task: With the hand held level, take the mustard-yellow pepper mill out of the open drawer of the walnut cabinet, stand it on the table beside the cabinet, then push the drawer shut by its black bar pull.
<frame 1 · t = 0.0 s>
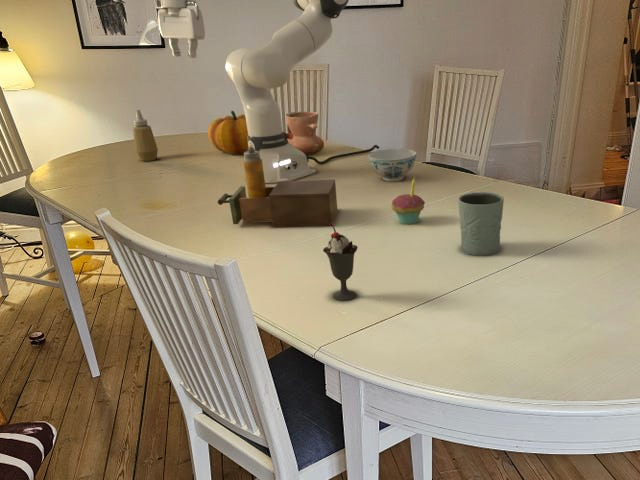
hand: (184, 57, 183), 39 cm above the table, tool pointing down, fingers open, 8 cm apart
squeeze bottle: (149, 160, 248), on the table
cupcake: (408, 222, 170), on the table
ceramic jug: (304, 153, 246), on the table
drawer: (255, 204, 175), point 4 cm above the table, slide at 9.5 cm, touching pepper mill
pepper mill: (260, 212, 176), point 2 cm above the table, touching drawer
cabinet: (306, 218, 176), on the table
chinaware: (393, 179, 208), on the table
decorative pumpkin: (240, 151, 254), on the table
sundae: (344, 296, 131), on the table
green embossed cup: (479, 249, 151), on the table
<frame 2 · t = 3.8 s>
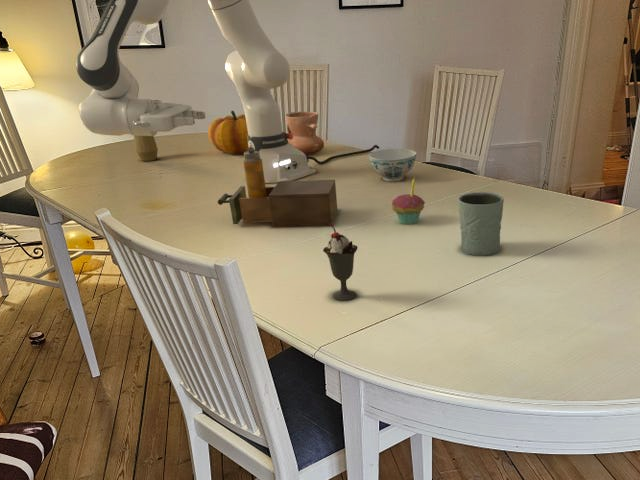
hand: (199, 118, 165), 27 cm above the table, tool horizontal, fingers open, 8 cm apart
nothing on the table moved.
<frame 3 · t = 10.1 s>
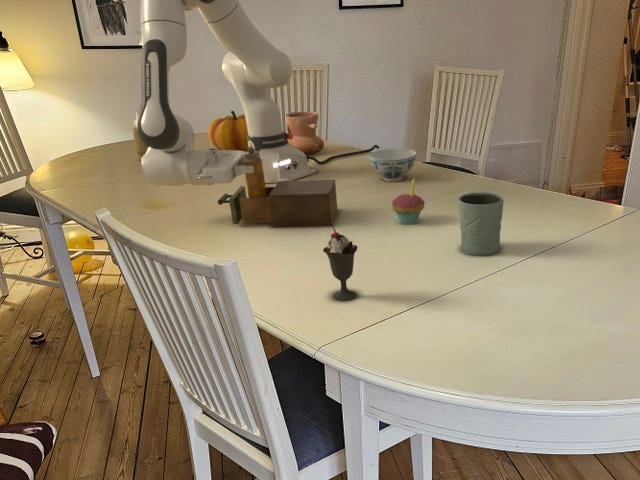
hand: (256, 165, 170), 15 cm above the table, tool horizontal, fingers closed on pepper mill, 5 cm apart
pepper mill: (260, 212, 176), point 2 cm above the table, touching drawer, gripper
everything else where it was.
when the fingers open (12 cm above the table, at t = 19.2 s): pepper mill stays where it is, on the table.
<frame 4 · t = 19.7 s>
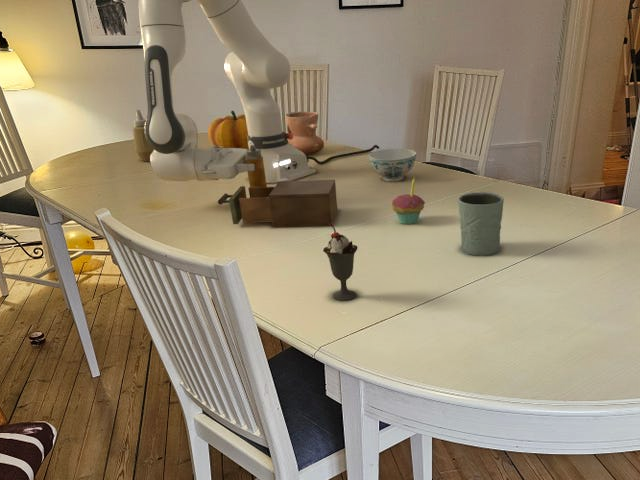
hand: (258, 162, 181), 13 cm above the table, tool horizontal, fingers open, 8 cm apart
drawer: (255, 204, 175), point 4 cm above the table, slide at 9.5 cm
pepper mill: (261, 207, 187), on the table
everything else where it was.
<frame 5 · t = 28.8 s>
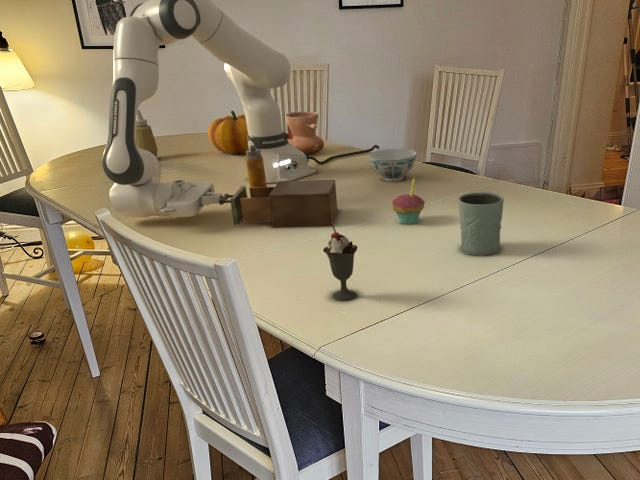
hand: (221, 198, 175), 6 cm above the table, tool horizontal, fingers closed, pressing on drawer
drawer: (256, 204, 175), point 4 cm above the table, slide at 9.2 cm, touching gripper
everything else where it was.
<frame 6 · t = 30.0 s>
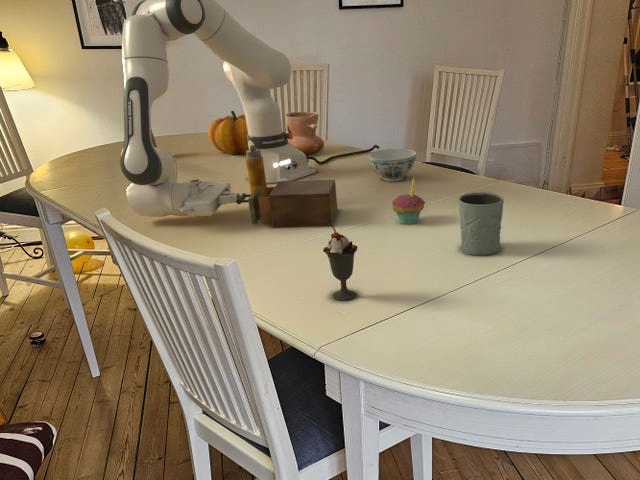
hand: (238, 197, 174), 6 cm above the table, tool horizontal, fingers closed, pressing on drawer
drawer: (273, 203, 174), point 4 cm above the table, slide at 4.5 cm, touching gripper
everything else where it was.
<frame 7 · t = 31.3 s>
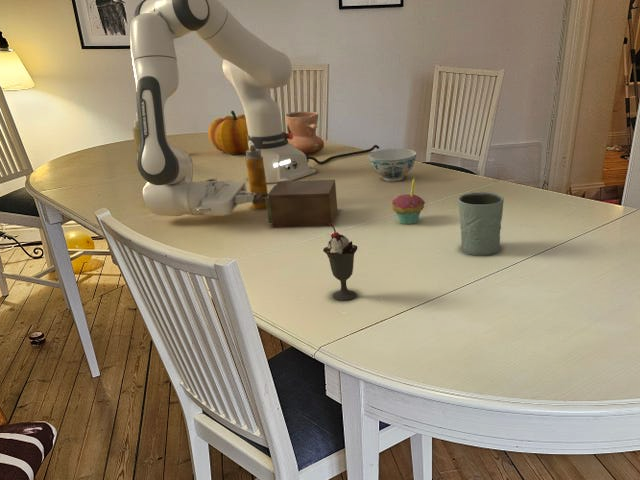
hand: (255, 197, 174), 6 cm above the table, tool horizontal, fingers closed, pressing on drawer
drawer: (290, 203, 174), point 4 cm above the table, slide at 0.0 cm, touching cabinet, gripper
everything else where it was.
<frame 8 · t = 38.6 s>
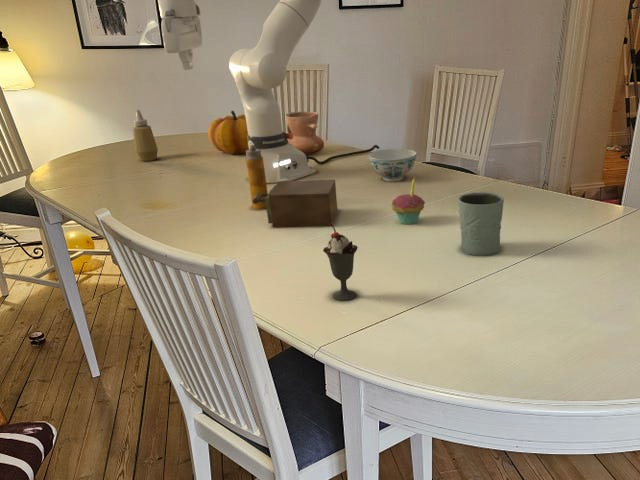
hand: (188, 69, 170), 37 cm above the table, tool pointing down, fingers closed
drawer: (290, 203, 174), point 4 cm above the table, slide at 0.0 cm
everything else where it was.
at the end: pepper mill inside the target area (0.3 cm from its centre), on the table; pepper mill tilted 0°; drawer slide at 0.0 cm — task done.
